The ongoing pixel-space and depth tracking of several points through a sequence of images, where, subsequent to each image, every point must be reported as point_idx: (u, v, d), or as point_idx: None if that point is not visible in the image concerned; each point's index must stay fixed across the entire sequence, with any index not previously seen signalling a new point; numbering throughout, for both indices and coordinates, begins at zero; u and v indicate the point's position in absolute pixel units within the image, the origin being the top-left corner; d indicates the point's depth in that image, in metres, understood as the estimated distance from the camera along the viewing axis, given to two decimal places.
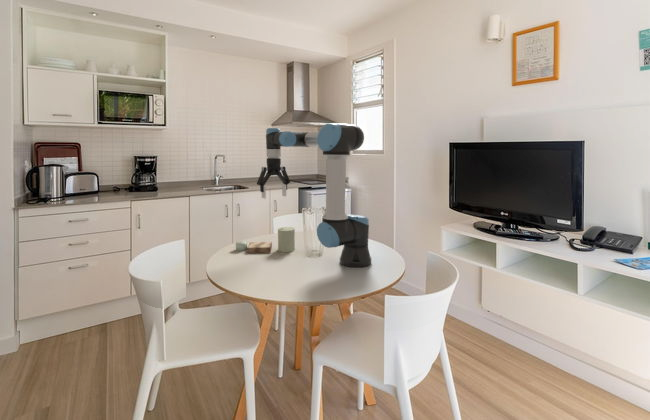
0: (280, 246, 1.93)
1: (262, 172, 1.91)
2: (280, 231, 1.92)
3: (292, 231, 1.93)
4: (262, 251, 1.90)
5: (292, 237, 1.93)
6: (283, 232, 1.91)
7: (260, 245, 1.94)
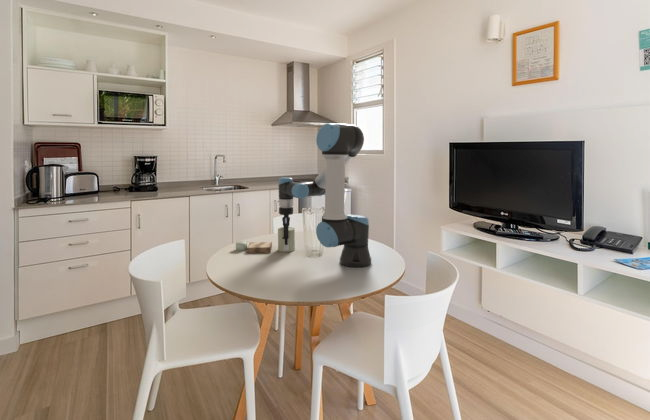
0: (280, 246, 1.93)
1: (286, 225, 1.88)
2: (280, 231, 1.92)
3: (292, 231, 1.93)
4: (262, 251, 1.90)
5: (292, 237, 1.93)
6: (283, 232, 1.91)
7: (260, 245, 1.94)
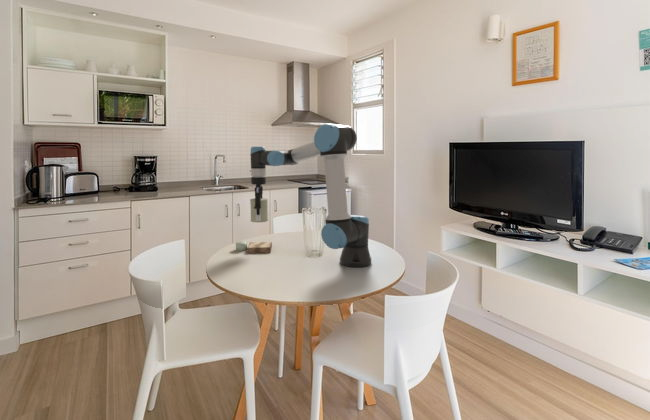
0: (252, 216, 1.90)
1: (257, 194, 1.85)
2: (252, 201, 1.88)
3: (264, 201, 1.89)
4: (262, 251, 1.90)
5: (264, 207, 1.90)
6: None
7: (260, 245, 1.94)
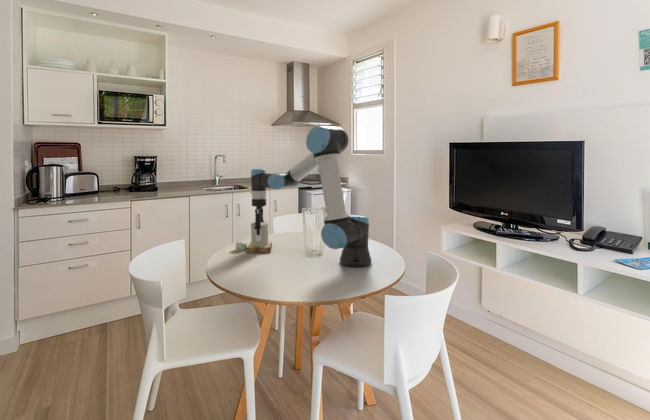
0: (253, 241, 1.92)
1: (258, 215, 1.86)
2: (253, 226, 1.91)
3: (265, 226, 1.91)
4: (262, 251, 1.90)
5: (265, 232, 1.92)
6: None
7: None
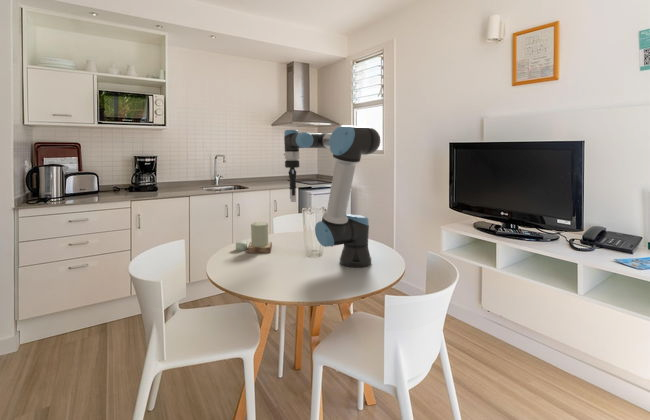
0: (253, 241, 1.92)
1: (293, 175, 1.84)
2: (253, 226, 1.91)
3: (265, 226, 1.91)
4: (262, 251, 1.90)
5: (265, 232, 1.92)
6: (256, 226, 1.90)
7: None
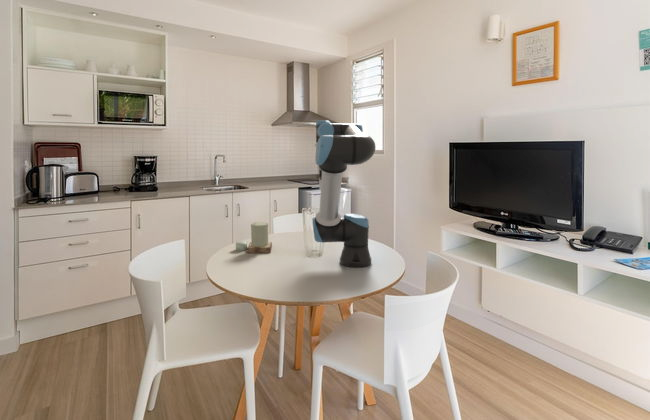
0: (253, 241, 1.92)
1: None
2: (253, 226, 1.91)
3: (265, 226, 1.91)
4: (262, 251, 1.90)
5: (265, 232, 1.92)
6: (256, 227, 1.90)
7: None
